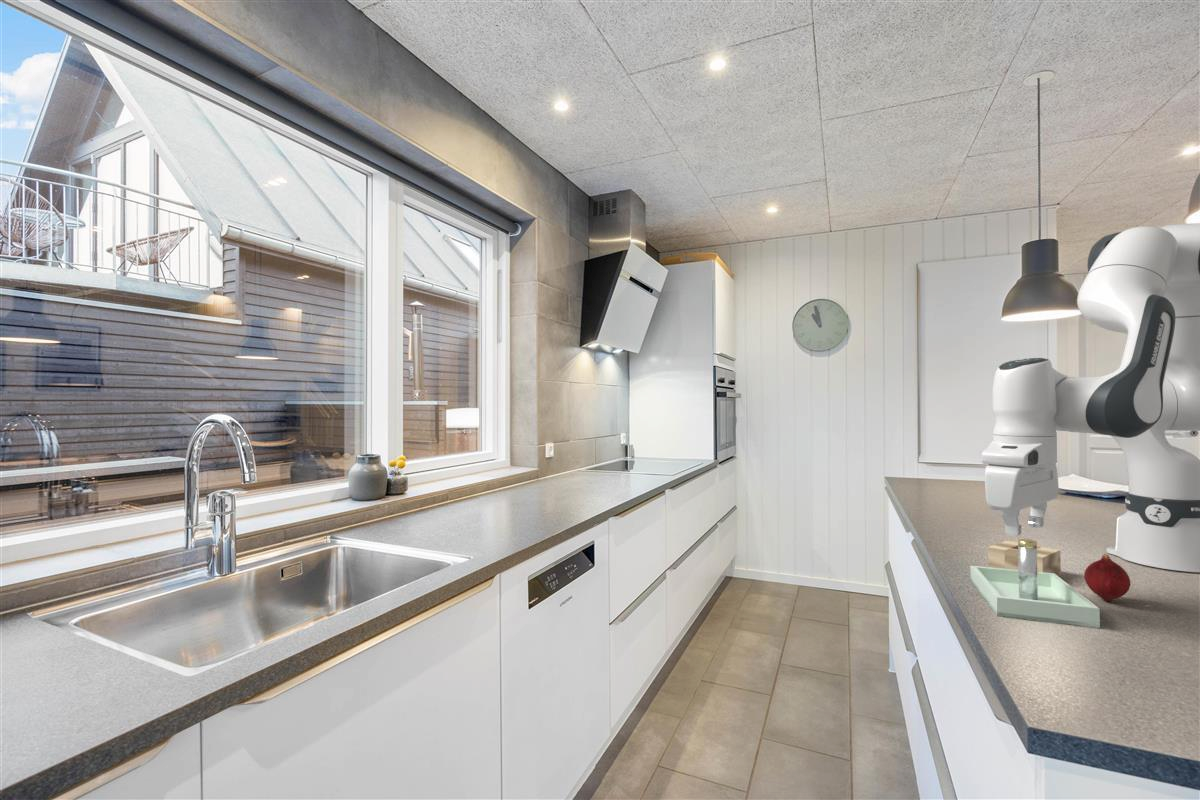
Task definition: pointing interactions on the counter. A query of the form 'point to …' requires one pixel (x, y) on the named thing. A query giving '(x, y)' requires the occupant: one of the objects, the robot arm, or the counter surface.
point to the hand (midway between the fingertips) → (1025, 530)
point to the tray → (1051, 606)
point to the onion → (1107, 579)
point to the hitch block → (1007, 557)
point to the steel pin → (1027, 569)
